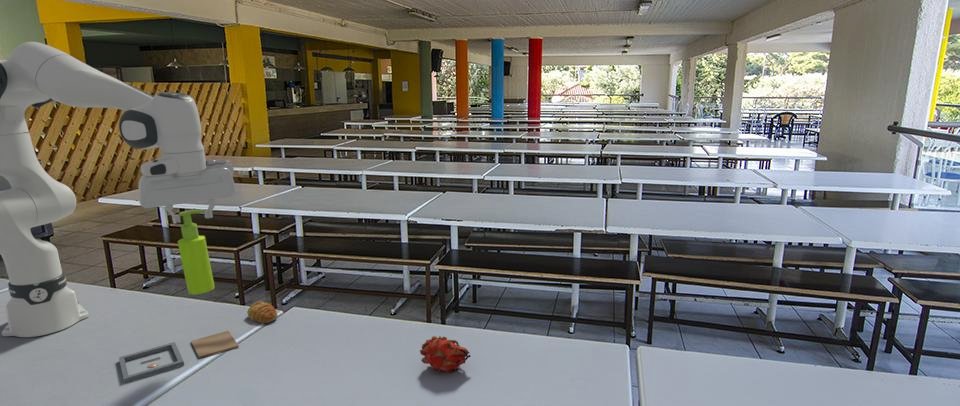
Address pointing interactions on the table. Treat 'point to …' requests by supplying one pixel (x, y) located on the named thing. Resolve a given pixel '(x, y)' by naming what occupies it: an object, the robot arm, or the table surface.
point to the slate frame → (147, 352)
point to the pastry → (262, 312)
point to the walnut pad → (214, 344)
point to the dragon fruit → (443, 354)
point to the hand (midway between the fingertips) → (193, 220)
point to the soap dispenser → (195, 256)
